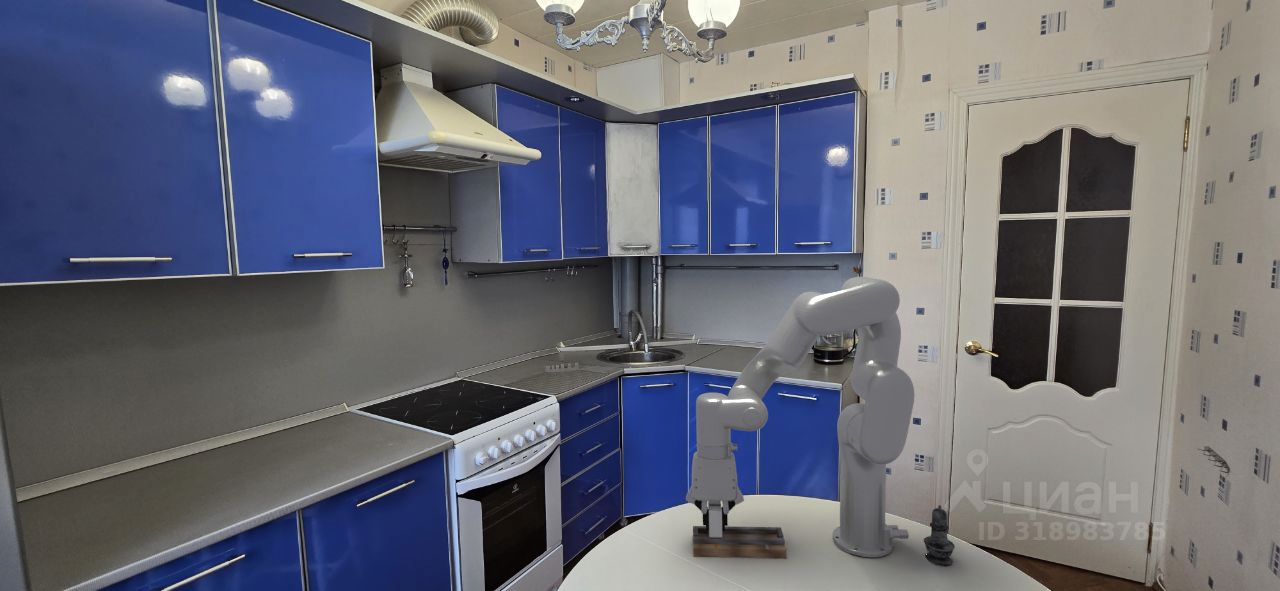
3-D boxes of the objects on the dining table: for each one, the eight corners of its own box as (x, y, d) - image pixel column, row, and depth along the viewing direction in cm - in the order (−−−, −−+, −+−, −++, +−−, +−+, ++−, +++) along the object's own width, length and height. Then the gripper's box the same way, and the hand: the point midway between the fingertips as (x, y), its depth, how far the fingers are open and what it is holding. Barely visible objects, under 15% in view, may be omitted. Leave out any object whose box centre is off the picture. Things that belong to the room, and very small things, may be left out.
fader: (721, 530, 128) (720, 499, 128) (722, 543, 123) (722, 510, 122) (708, 529, 129) (707, 498, 128) (709, 542, 123) (708, 510, 123)
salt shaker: (944, 551, 121) (945, 498, 120) (960, 566, 116) (962, 511, 114) (917, 552, 121) (918, 499, 120) (932, 567, 115) (933, 512, 114)
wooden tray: (779, 536, 129) (779, 521, 129) (786, 558, 120) (786, 542, 120) (693, 535, 131) (692, 520, 131) (693, 556, 122) (693, 540, 122)
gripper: (748, 443, 127) (749, 520, 129) (677, 443, 128) (679, 519, 130) (752, 455, 120) (753, 537, 121) (676, 455, 121) (678, 536, 123)
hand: (715, 527), depth 126 cm, fingers closed on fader, 2 cm apart
